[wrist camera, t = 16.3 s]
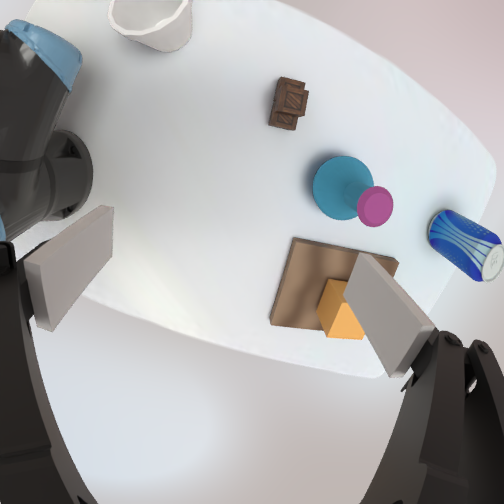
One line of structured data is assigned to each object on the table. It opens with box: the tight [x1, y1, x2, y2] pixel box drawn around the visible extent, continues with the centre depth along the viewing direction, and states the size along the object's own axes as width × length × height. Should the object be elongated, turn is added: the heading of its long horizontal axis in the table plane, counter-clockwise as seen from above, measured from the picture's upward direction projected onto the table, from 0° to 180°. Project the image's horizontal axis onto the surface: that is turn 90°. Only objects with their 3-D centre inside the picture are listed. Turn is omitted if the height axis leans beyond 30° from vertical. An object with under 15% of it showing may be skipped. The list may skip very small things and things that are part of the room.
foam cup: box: [107, 0, 192, 52], centre depth 25 cm, size 10×9×13 cm
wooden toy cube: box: [316, 279, 365, 340], centre depth 43 cm, size 6×6×7 cm
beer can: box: [428, 210, 504, 283], centre depth 39 cm, size 8×8×16 cm
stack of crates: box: [269, 77, 309, 130], centre depth 34 cm, size 15×15×7 cm
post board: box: [270, 237, 399, 331], centre depth 45 cm, size 20×16×9 cm
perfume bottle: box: [312, 156, 393, 227], centre depth 35 cm, size 9×9×15 cm
